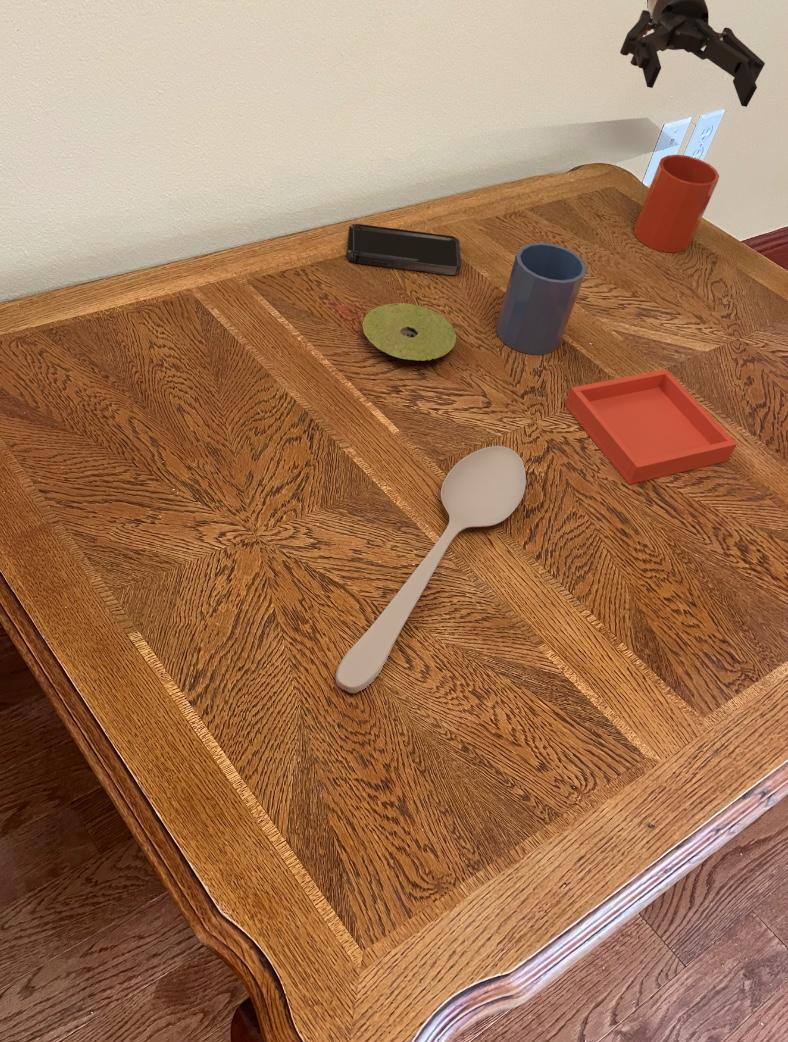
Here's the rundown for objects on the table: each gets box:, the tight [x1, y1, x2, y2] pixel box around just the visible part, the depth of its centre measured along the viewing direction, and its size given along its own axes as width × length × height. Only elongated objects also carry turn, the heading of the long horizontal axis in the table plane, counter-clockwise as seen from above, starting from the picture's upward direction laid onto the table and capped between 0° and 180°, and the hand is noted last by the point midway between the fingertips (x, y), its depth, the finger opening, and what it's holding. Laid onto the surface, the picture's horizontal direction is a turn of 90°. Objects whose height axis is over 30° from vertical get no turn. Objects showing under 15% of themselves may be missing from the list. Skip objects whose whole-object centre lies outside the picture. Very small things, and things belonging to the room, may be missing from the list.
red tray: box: [564, 368, 738, 485], centre depth 106 cm, size 14×14×3 cm
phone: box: [346, 223, 462, 276], centre depth 125 cm, size 8×1×15 cm
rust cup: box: [633, 154, 720, 254], centre depth 132 cm, size 8×8×10 cm
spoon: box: [334, 445, 527, 694], centre depth 90 cm, size 35×8×3 cm, turn 150°
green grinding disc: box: [362, 302, 457, 362], centre depth 112 cm, size 11×11×2 cm
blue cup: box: [495, 242, 588, 356], centre depth 113 cm, size 8×8×10 cm
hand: (702, 87), depth 127 cm, fingers open, 13 cm apart
